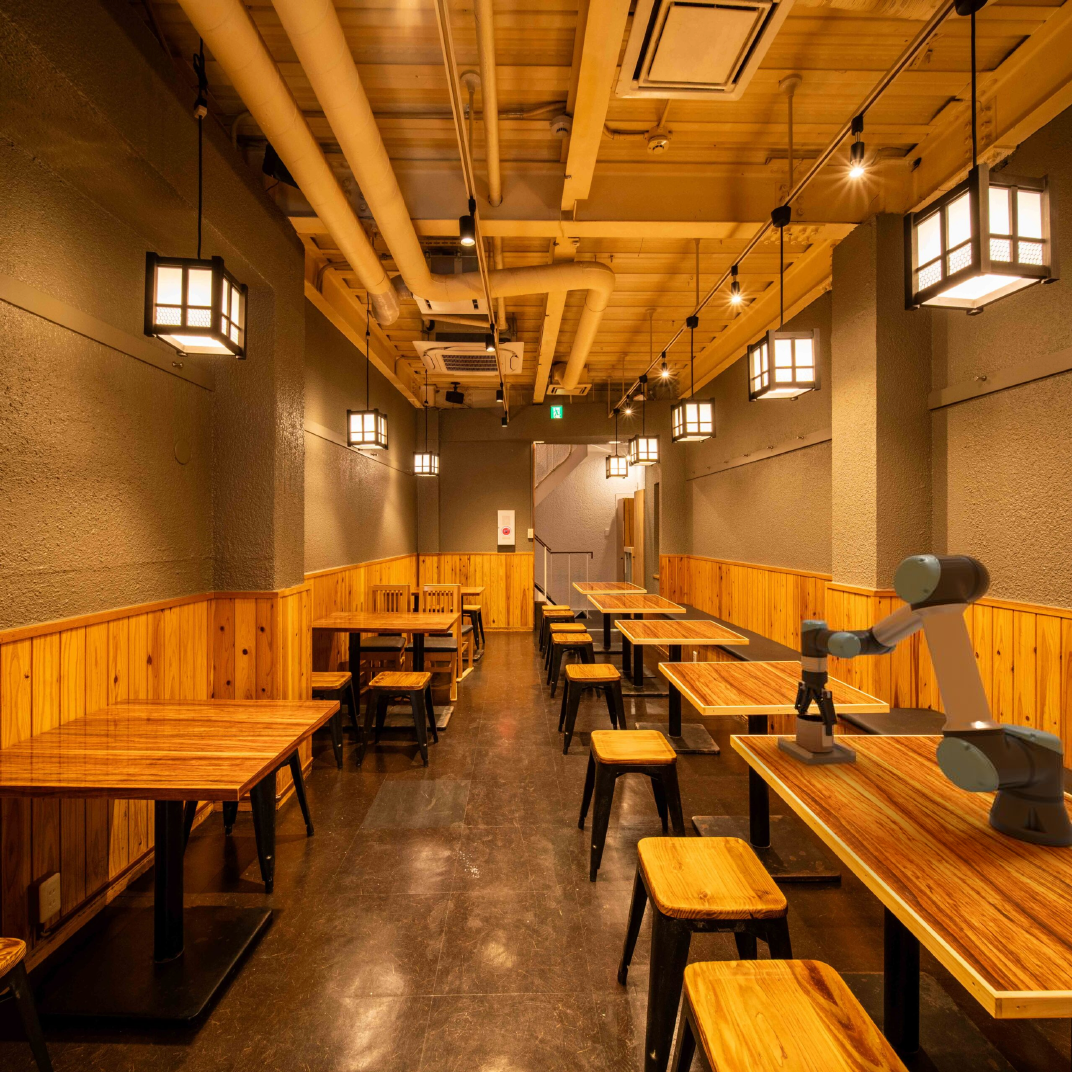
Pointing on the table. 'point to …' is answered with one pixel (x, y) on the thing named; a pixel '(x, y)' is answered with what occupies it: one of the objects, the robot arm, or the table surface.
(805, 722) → the planter
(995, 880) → the table surface
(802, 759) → the grey square tray
